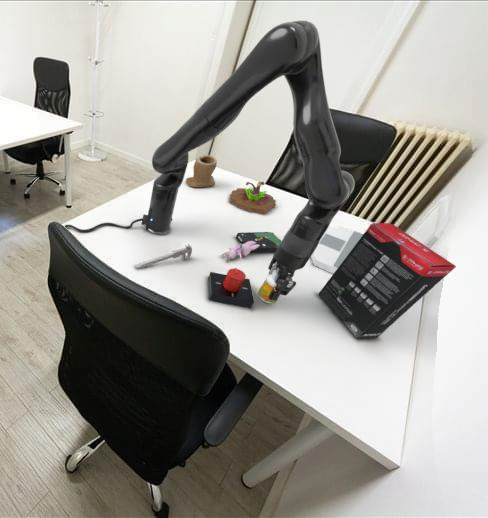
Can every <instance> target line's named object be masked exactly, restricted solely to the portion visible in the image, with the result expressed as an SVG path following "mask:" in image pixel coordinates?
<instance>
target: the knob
mask: <svg viewBox="0 0 488 518" xmlns="http://www.w3.org/2000/svg"><path fill="white" fill-rule="evenodd" d="M225 275H226V277H225V280H224V282H223V286H224V287H225V288H226V289H227V290H229V291H232V292H237V291H239V290H240V288H241V286H242V284H243V282H244V280H245V278H246V277H247V276H246V273H245V272H244V271H242V270H241V269H240V268H238V267H234V268H230V269H228V270H227V273H226V274H225ZM246 279H247V278H246Z"/></svg>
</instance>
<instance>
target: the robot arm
mask: <svg viewBox="0 0 488 518" xmlns="http://www.w3.org/2000/svg"><path fill="white" fill-rule="evenodd" d="M283 76H284V78H285V81H286V82H287V85H288V87H289V90H290V93H291V97H292V98H291V99H292V106H293V121H292V125H293V126H292V127H293V136H294V141H295V144H296V148H297V151H298V153H299V157H300V160H301V162H302V166H303V178H304V179H303V180H304V186H305V192H306V195H307V197H308V201H307V202H306V204H305V205H304V207H303V208H302V209H301V210H300V211H299V212H298V214H297V215H296V217H295V218H294V220H293V222H292V224H291V225H290V227H289V229H288V230H287V231H286V233H285V234H284V236H283V238H282V240H281V241H282V242H281V243H280V245H279V247H278V249H277V251H276V252H275V253H273V256H272V258H271V261H270V263H269V265H268V270H269V271H268V275H270V274H272V273H273V271H274V270H275V269H276V273H277V274H276V277H275V280H274V282H275V286H274V289H273V290H272V291H271V293H270V295H269V296H268V298H269V300H274V301H276V300H277V299H278V300H279V298H280V297H281V296H284V297H286V296H287V295H289V294H290V292H291V291H292V290H293V289H294V288H295V287H296V286H297V281H294V280H293V277H294V275H295V272H296V271H298V270H301V269H303V268H305V266H306V265H307V263H308V261H309V260H310V258H311V255H312V254H313V252H314V251H315V249H316V248H317V246H318V244H319V241H320V239H321V238H322V236H323V235H324V233H325V232H326V230H327V229H328V227H330V225H331V223H332V221H333V219H334V218H335V216H336V215H338V213H339V211H340V210H341V209H342V207H343V206H344V204H345V203H346V201H347V200H348V199H349V197H350V196H351V195H352V193H353V192H354V189H355V187H356V186H355V185H356V181H355V179H354V176H353V175H352V174H351V173H350V172H348V171H345V170H342V168H341V164H340V157H341V154H342V149H341V143H340V140H339V137H338V134H337V131H336V127H335V124H334V121H333V118H332V114H331V110H330V107H329V102H328V101H329V100H328V96H327V91H326V86H325V79H324V78H325V77H324V71H323V61H322V49H321V39H320V35H319V30H318V28H317V27H316V25H315V24H314V23H312V22H311V21H308V20H295V21H287V22H286V21H285V22H282V23H280V24H277V25H276V26H273V27H272V28H271V29H270V30H268V31H267V32H266V33H265V34H264V35H263V36H262V37H261V38H260V40H259V41H258V42H257V43H256V44H255V46H254V47H253V48H252V50H251V51H250V52H249V53H248V55H247V56H246V57H245V59H244V60H243V61H242V62H241V64H240V65H239V66H238V67H237V68H236V70H234V72H233V73H232V74H231V75H230V76H229V77H228V78H227V79H226V80H225V81H224V82H223V83H221V84H220V86H219V87H218V88H217V89H216V90H215V91H214V92H213V93H212V94H210V96H209V97H208V98H206V99H205V101H203V103H202V104H201V105H200V106H199V107H198V108H197V109H196V111H194V113H192V115H191V116H190V117H189V118H188V119H187V120H186V121H185V122H183V124H182V125H181V126H180V127H179V128H178V129H177V130H176V131H175V133H173V134H172V135H171V136H170V137H169V138H168V139H166V140H165V141H164V142H162V144H160V145H159V146H158V147H156V149H155V150H154V152H153V155H152V157H151V166H152V168H153V170H154V171H155V172H156V173H158V174H160V175H159V176H158V177H155V179H154V181H153V184H152V191H151V196H150V201H149V207H148V213H147V214H145V213H144V214H143V215H142V217H141V218H138V219H137V218H136V219H135V220H133V221H131V222H130V225H126V226H123V225H120V224H116V223H113V222H103V223H99V224H97V225H95V226H93V227H90V228H86V229H82V228H78V227H76V226H74V225H72V224H65V225H64V226H65V227H66V228H71V229H73V230H75V231H77V232H81V233H88V232H91V231H94V230H96V229H97V228H100V227H103V226H111V227H116V228H119V229H125V230H126V229H131V228H132V227H133V225H135V224H136V223H139V222H141V225H144V226H145V231H148V232H149V233H151V234H154V235H158V236H159V235H166V234H168V233H169V232H170V228H171V223H172V221H173V215H174V210H175V206H176V202H177V197H178V193H179V188H180V187H181V186H182V184H183V181H184V178H185V174H186V172H187V168H188V163H189V153H190V152H191V151H193V150H195V149H197V148H199V147H201V146H204V145H205V144H207V143H208V142H210V141H212V140H213V139H215V138H216V137H218V136H219V135H220V134H222V133H223V132H224V131H225V130H226V129H227V128H228V127H229V126H231V125H232V124H233V123H234V121H236V119H237V118H238V117H239V116H240V114H241V112H242V111H243V109H244V107H245V106H246V104H247V103H248V102H249V101H250V100H251V99H252V98H253V97H254V96H255V95H256V94H258V93H259V92H260V91H262V90H263V89H264V88H266V87H267V86H268V85H270V84H271V83H272V82H274V81H276V80H277V79H279V78H281V77H283ZM279 279H281V280H284V281H278V280H279ZM278 285H280V286H279V288H278ZM279 296H280V297H279ZM278 297H279V298H278ZM278 300H277V301H278ZM277 301H276V302H277Z"/></svg>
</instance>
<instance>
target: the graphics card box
mask: <svg viewBox="0 0 488 518" xmlns="http://www.w3.org/2000/svg"><path fill="white" fill-rule="evenodd" d="M362 234H363V236H362V237H361V238H360V240H359V241H358V242H357V244H356V245H355V246H354V248H353V249H352V250H351V252H350V253H349V254H348V256H347V257H346V258H345V260H344V261H343V262H342V263H341V265H340V266H339V267H338V269H337V270H336V271H335V273H334V274H333V273H332V274H331V276H330V278H329V279H328V280H327V281H326V283H325V285H324V286H323V287H322V289H321V290H320V291H319V292H318V294H317V295H318V296H319V298H320V299H322V300H323V302H324V303H325V304H326V305H327V306H328V307H329V309H330V310H331V311H332V312H333V313H334V315H335V316H336V317H337V318H338V319H339V320H340V321H341V323H342V324H343V325H344V326H345V327H346V329H347V330H348V331H349V332H350V333H351V334H352V336H353V337H354V338H356V339H358V340H359V339H377V338H379V337H380V336H381V335H382V334H384V332H386V331H387V329H389V328H390V327H391V326H392V325H393V324H394V323H395V322H397V321H398V320H399V319H400V318H401V317H402V316H403V315H404V314H405V313H406V312H407V311H409V309H411V308H412V307H413V306H414V305H415V304H417V302H419V301H420V300H421V299H422V298H423V297H424V296H425V295H427V293H429V292H430V291H431V290H432V289H433V288H434V287H435V286H436V285H437V284H438V283H440V282H441V281H442V280H443V279H444V278H445V277H446V276H448V275H449V274H450V273H451V272H452V271H453V270H455V269H456V267H457V266H456V265H455V264H454V263H452V262H450V261H449V260H447V259H446V258H445V257H443V256H441V255H440V254H439V253H437V252H436V251H434V250H432V249H431V248H430V249H429V248H428V247H426V246H425V245H423V244H422V243H420V242H419V241H417V240H416V239H414V238H413V237H411V236H410V235H409V233H407V232H405V230H402V229H401V228H399V227H398V226H397V225H395V224H393V223H388V222H372V223H370V224H369V226H368V227H367V229H366V230H365V231H364V233H362Z"/></svg>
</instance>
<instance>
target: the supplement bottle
mask: <svg viewBox="0 0 488 518" xmlns="http://www.w3.org/2000/svg"><path fill="white" fill-rule="evenodd" d="M276 274H277V273H276V269H275V270H274V271H273V273H272V274H270V275H269V274H268V275H267V276H266V278H265V279H264V281H263V283H262V285H261V287H260V288H259V290H258V291H257V296H258V298H259V299H260V300H261V301H263V302H265V303H267V304H275V303H276V302H277V301H278V300H279V298H280V297H281V295H280V296H279V297H278V299H277V300H276V301H274V300H269V298H268V296H269V295H270V293H271V291H272V290H273V289H274V286H275V282H274V280H275V277H276ZM278 281H284V280H281V279H279V280H278ZM279 286H280V285H278V288H279Z"/></svg>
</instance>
